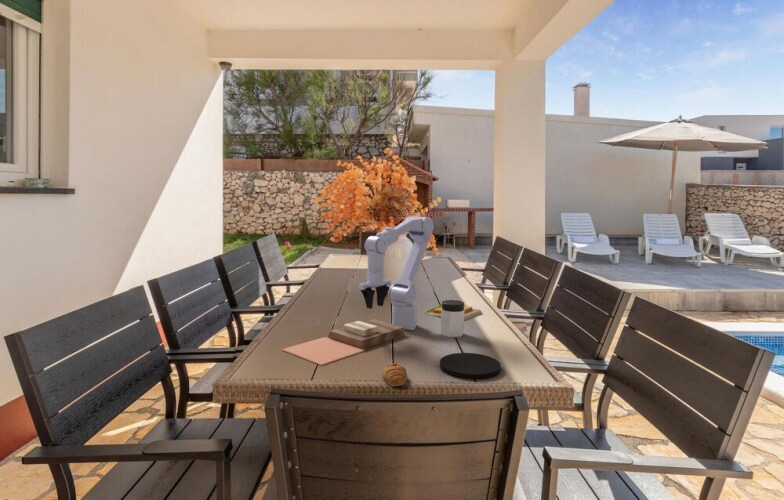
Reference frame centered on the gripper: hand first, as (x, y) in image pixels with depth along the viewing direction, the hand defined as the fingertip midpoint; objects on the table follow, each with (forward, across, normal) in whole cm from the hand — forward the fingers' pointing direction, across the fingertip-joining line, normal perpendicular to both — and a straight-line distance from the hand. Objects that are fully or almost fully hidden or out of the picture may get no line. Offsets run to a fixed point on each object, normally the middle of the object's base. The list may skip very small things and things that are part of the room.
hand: (374, 306), depth 171 cm
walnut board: (+10, -3, 0) cm, 11 cm away
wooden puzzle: (+10, +46, -3) cm, 47 cm away
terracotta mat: (+11, -24, 0) cm, 26 cm away
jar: (+10, +21, -20) cm, 31 cm away
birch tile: (+8, -7, 0) cm, 10 cm away
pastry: (+11, -26, -33) cm, 43 cm away
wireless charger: (+11, -4, -43) cm, 45 cm away
